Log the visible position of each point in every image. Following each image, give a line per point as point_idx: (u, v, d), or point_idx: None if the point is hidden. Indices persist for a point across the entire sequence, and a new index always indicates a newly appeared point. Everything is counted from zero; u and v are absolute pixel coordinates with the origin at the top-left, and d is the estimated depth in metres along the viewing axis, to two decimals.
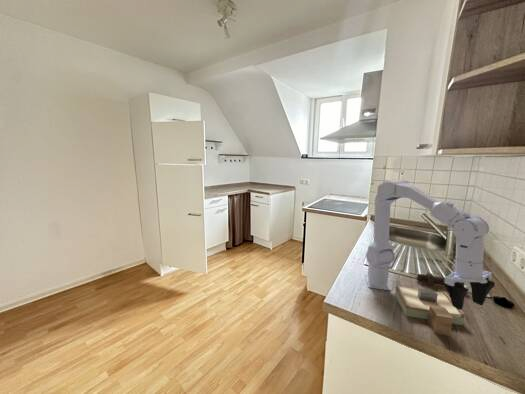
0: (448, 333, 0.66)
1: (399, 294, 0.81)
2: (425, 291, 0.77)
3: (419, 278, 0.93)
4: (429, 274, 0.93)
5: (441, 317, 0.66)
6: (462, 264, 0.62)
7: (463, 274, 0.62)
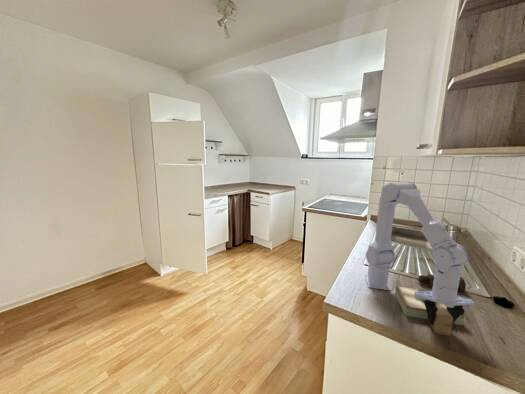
0: (448, 333, 0.66)
1: (399, 294, 0.81)
2: (425, 291, 0.77)
3: (421, 280, 0.92)
4: (431, 275, 0.92)
5: (441, 317, 0.66)
6: (434, 285, 0.67)
7: (434, 294, 0.67)
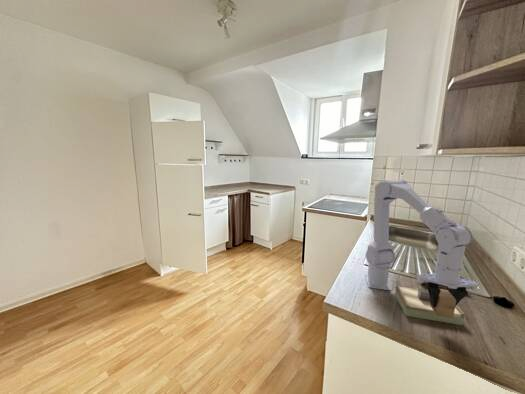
0: (451, 315, 0.65)
1: (399, 294, 0.81)
2: (425, 291, 0.77)
3: None
4: None
5: (444, 299, 0.65)
6: (437, 267, 0.66)
7: (436, 276, 0.66)
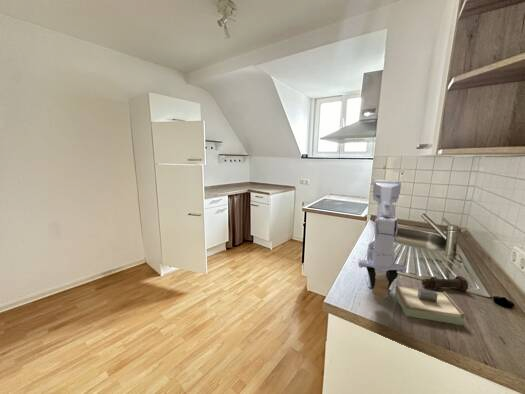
0: (385, 295, 0.76)
1: (399, 294, 0.81)
2: (425, 291, 0.77)
3: (427, 284, 0.89)
4: (435, 278, 0.90)
5: (379, 281, 0.75)
6: (374, 253, 0.76)
7: (373, 261, 0.77)
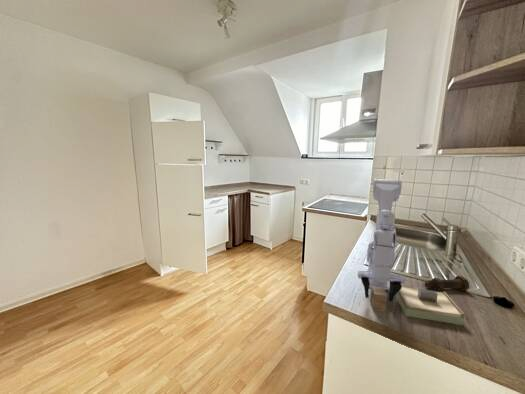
0: (383, 309, 0.77)
1: (399, 294, 0.81)
2: (425, 291, 0.77)
3: (431, 286, 0.88)
4: (437, 279, 0.89)
5: (377, 295, 0.76)
6: (372, 264, 0.77)
7: (372, 272, 0.77)
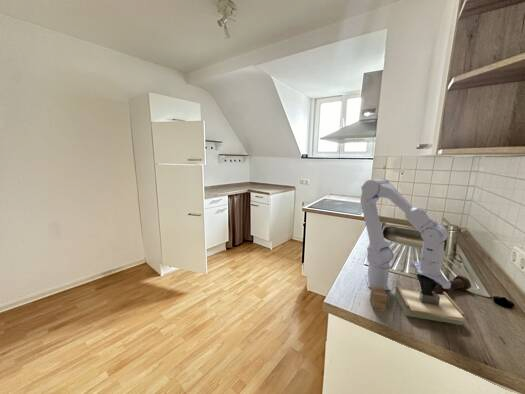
0: (383, 309, 0.77)
1: (399, 294, 0.81)
2: (427, 294, 0.76)
3: (440, 290, 0.85)
4: None
5: (377, 295, 0.76)
6: None
7: None
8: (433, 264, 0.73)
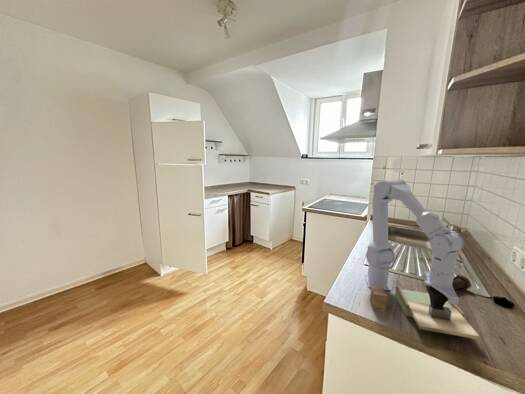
0: (383, 309, 0.77)
1: (399, 294, 0.81)
2: (437, 308, 0.69)
3: None
4: None
5: (377, 295, 0.76)
6: None
7: None
8: (441, 275, 0.67)
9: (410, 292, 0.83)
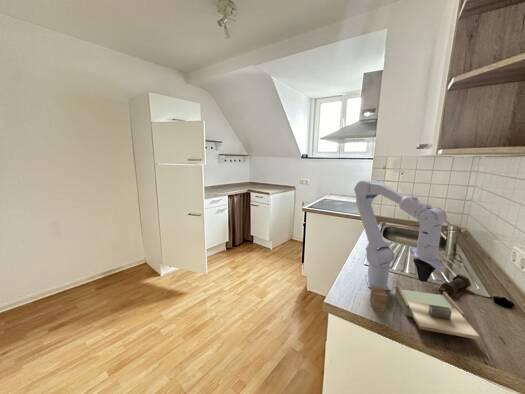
0: (383, 309, 0.77)
1: (399, 294, 0.81)
2: (437, 308, 0.69)
3: (447, 292, 0.83)
4: (449, 283, 0.86)
5: (377, 295, 0.76)
6: None
7: None
8: (428, 247, 0.72)
9: (410, 292, 0.83)
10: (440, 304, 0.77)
